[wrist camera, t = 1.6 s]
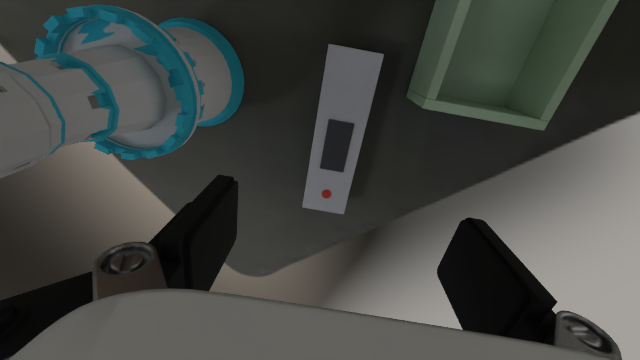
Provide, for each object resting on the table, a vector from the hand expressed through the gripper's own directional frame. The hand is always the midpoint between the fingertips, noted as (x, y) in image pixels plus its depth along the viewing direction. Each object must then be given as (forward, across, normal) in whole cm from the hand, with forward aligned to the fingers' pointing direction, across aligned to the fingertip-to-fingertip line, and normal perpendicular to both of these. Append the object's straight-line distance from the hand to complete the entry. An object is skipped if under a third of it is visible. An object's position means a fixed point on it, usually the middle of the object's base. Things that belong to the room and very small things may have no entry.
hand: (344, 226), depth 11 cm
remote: (+18, 0, +1) cm, 18 cm away
